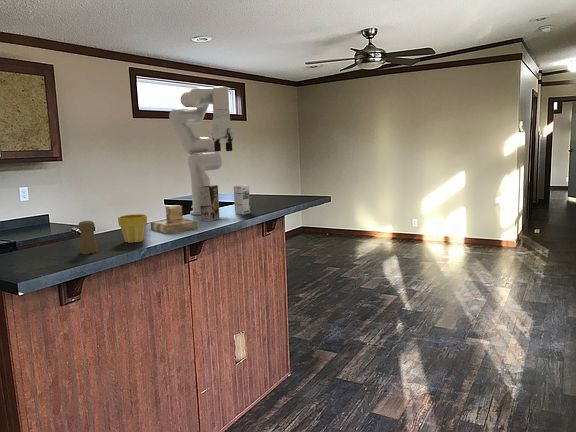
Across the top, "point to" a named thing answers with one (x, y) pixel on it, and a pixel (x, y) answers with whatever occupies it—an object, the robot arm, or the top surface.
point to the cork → (87, 237)
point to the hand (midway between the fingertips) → (223, 151)
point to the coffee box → (209, 203)
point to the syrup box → (242, 199)
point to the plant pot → (133, 227)
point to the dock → (174, 226)
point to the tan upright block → (174, 214)
